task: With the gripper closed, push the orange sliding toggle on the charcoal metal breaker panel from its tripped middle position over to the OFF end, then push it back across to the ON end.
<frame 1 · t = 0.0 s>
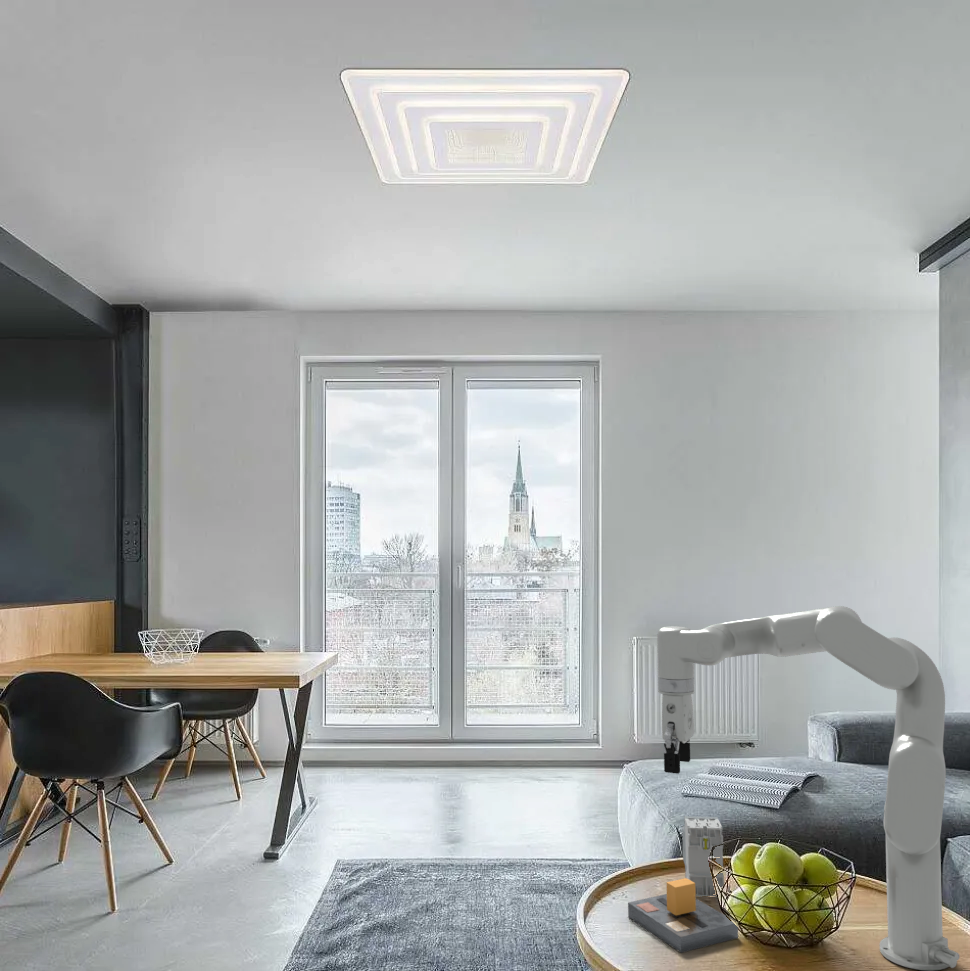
hand: (677, 766, 197), 31 cm above the table, tool pointing down, fingers open, 9 cm apart
breaker panel: (681, 927, 190), on the table
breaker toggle: (681, 896, 191), point 6 cm above the table, slide at 0.0 cm
circuit breaker: (702, 885, 212), on the table
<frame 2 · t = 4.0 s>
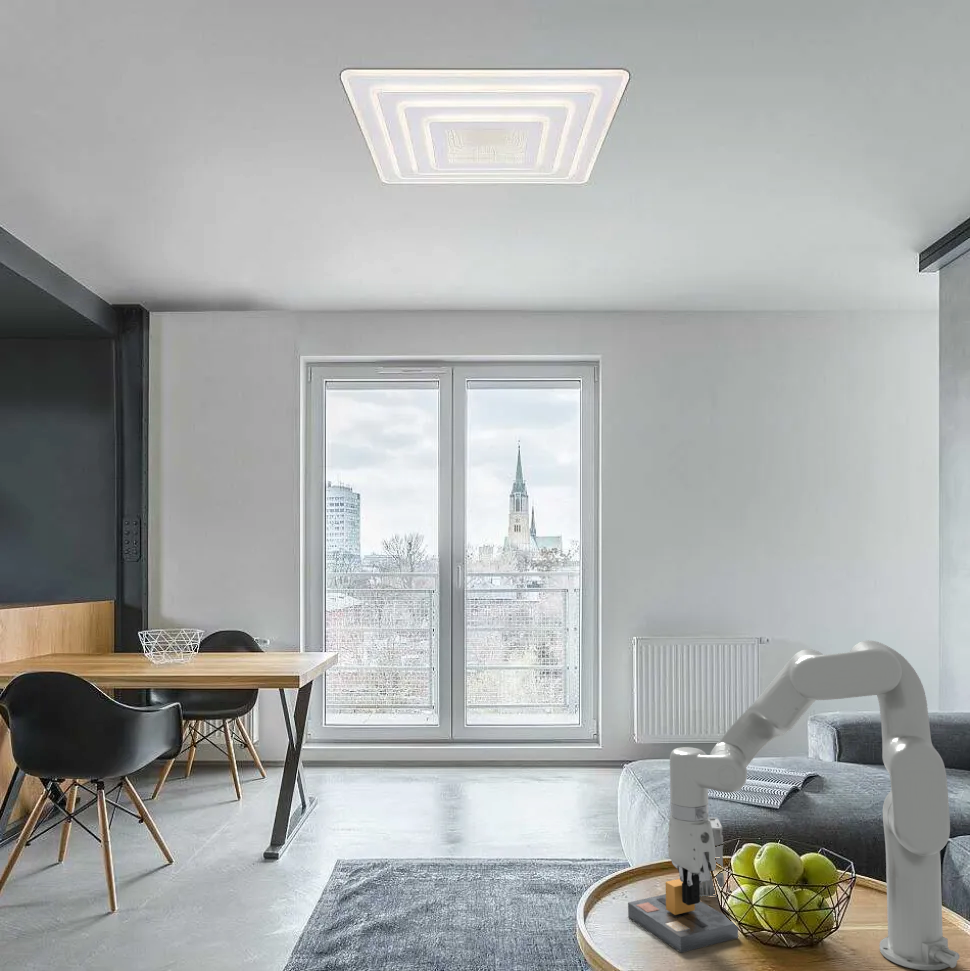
hand: (691, 902, 188), 6 cm above the table, tool pointing down, fingers closed
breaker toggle: (680, 895, 191), point 6 cm above the table, slide at 0.3 cm, touching gripper
everything else where it was.
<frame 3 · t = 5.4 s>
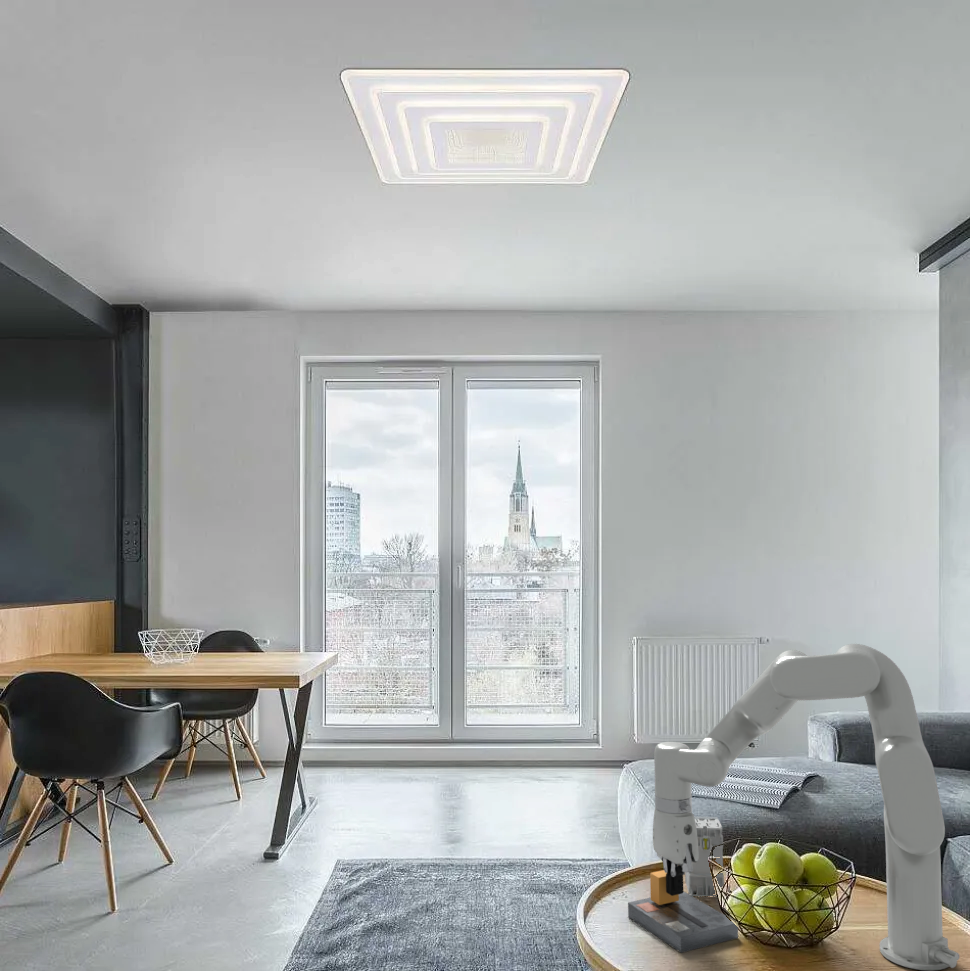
hand: (674, 893, 192), 6 cm above the table, tool pointing down, fingers closed
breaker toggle: (664, 886, 196), point 6 cm above the table, slide at 5.7 cm, touching gripper
everything else where it was.
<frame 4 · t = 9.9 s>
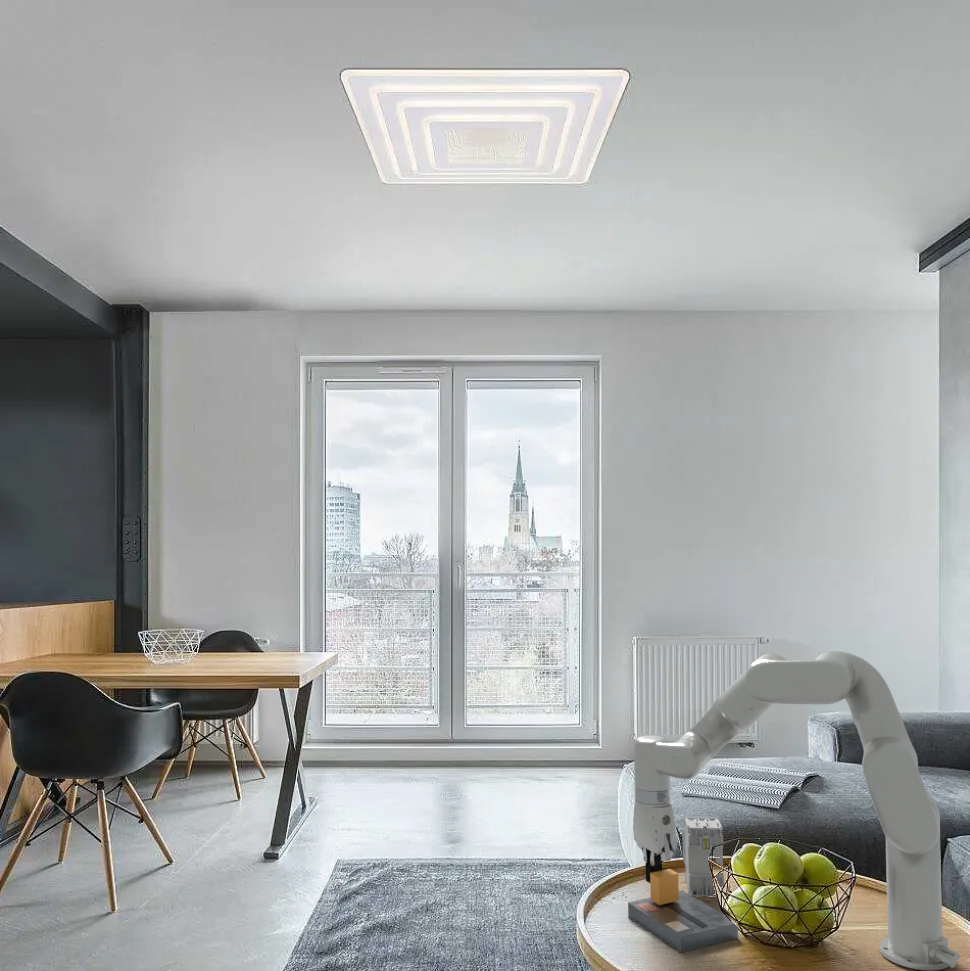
hand: (654, 881, 199), 6 cm above the table, tool pointing down, fingers closed
nothing on the table moved.
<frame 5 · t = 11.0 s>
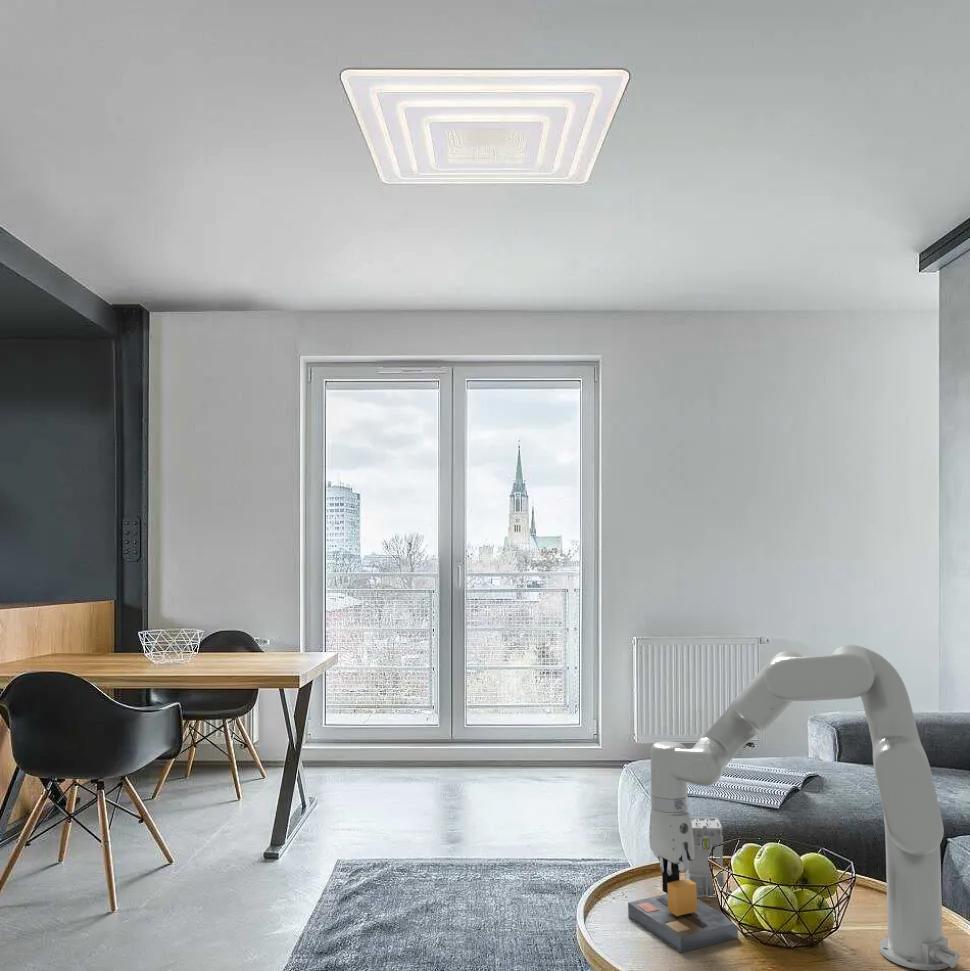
hand: (671, 891, 194), 6 cm above the table, tool pointing down, fingers closed
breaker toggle: (682, 897, 190), point 6 cm above the table, slide at -0.3 cm, touching gripper
everything else where it was.
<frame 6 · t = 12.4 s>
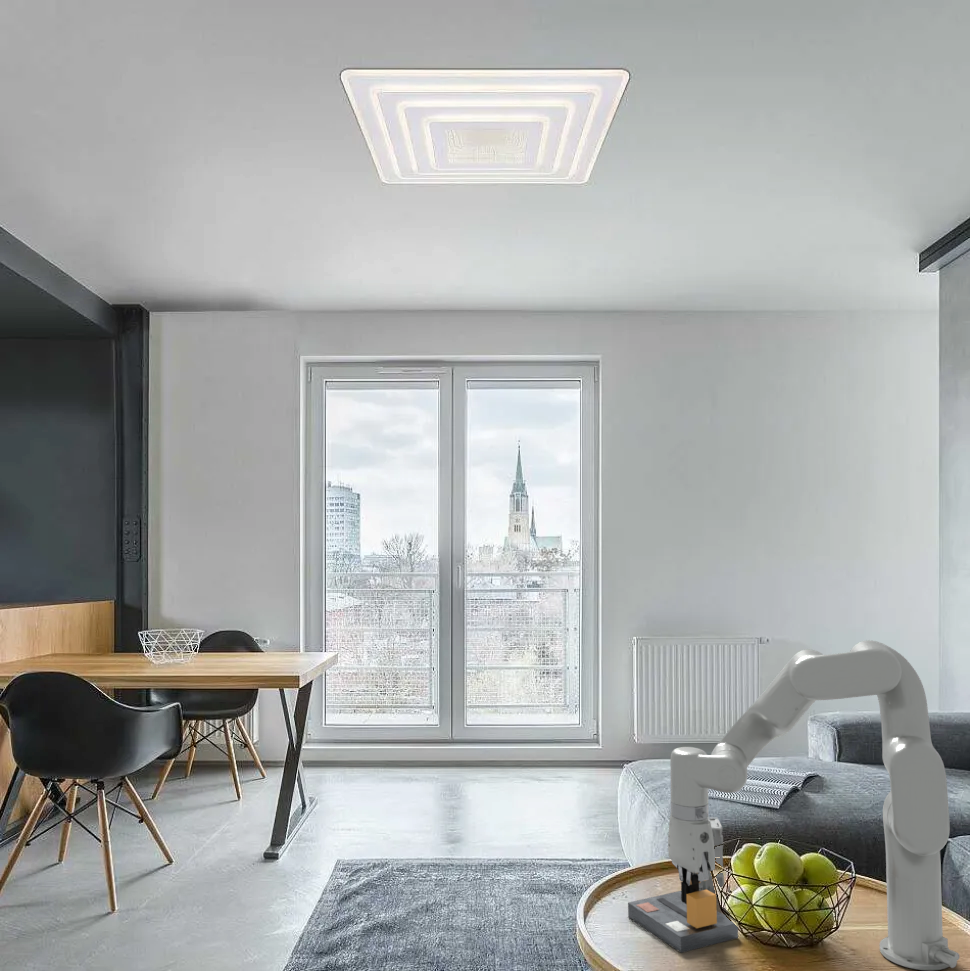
hand: (690, 901, 188), 6 cm above the table, tool pointing down, fingers closed
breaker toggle: (701, 908, 185), point 6 cm above the table, slide at -6.6 cm, touching gripper
everything else where it was.
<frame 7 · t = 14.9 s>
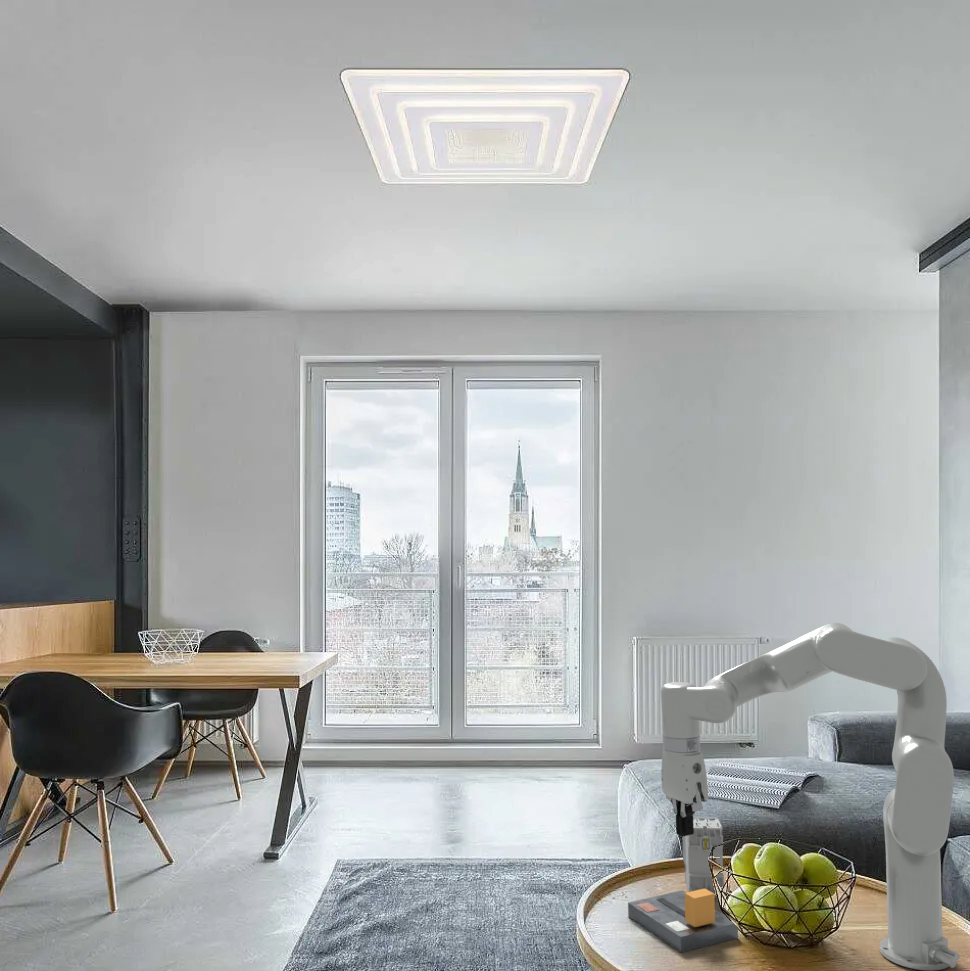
hand: (685, 834, 190), 19 cm above the table, tool pointing down, fingers closed
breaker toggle: (699, 907, 185), point 6 cm above the table, slide at -6.1 cm
everything else where it was.
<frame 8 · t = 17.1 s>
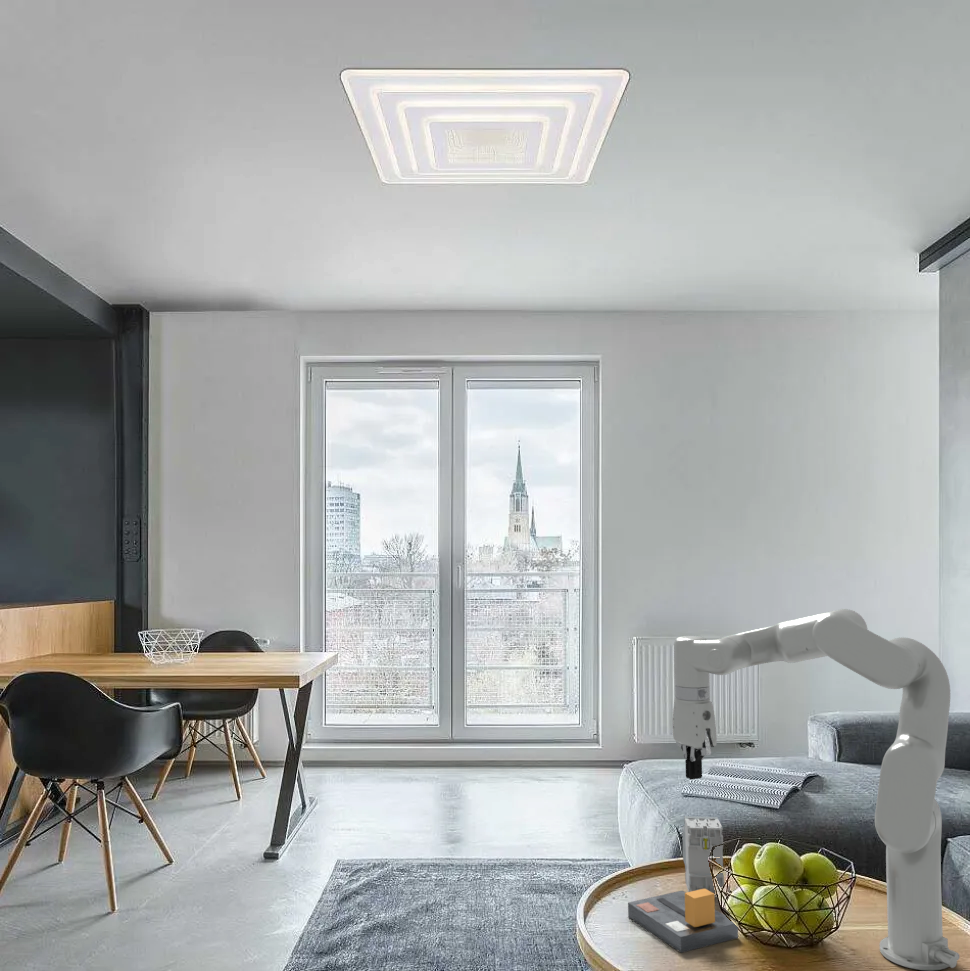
hand: (693, 777, 203), 27 cm above the table, tool pointing down, fingers closed
nothing on the table moved.
at the end: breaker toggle slide at -6.1 cm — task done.
